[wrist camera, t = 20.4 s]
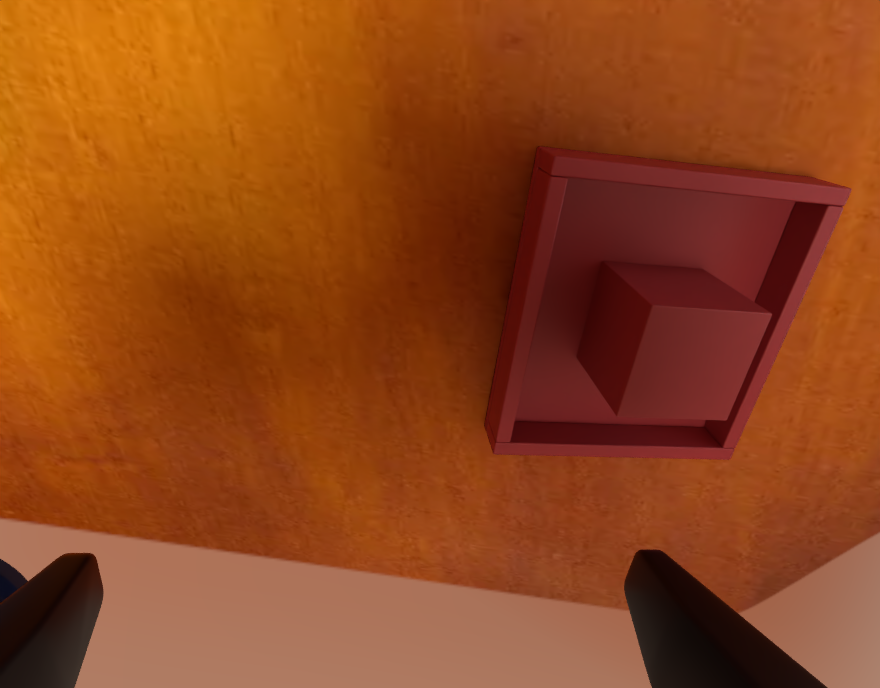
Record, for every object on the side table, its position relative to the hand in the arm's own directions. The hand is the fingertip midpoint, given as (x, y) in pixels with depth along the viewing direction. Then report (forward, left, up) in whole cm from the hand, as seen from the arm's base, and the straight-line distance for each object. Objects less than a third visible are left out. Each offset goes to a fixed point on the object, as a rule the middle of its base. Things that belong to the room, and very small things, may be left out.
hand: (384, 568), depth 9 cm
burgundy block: (0, -10, -12) cm, 15 cm away
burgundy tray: (0, -10, -12) cm, 16 cm away
